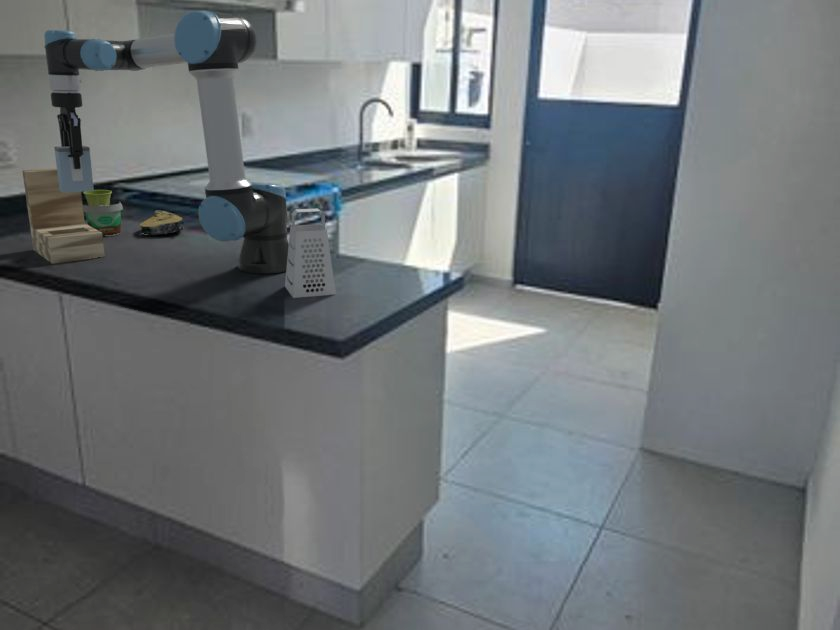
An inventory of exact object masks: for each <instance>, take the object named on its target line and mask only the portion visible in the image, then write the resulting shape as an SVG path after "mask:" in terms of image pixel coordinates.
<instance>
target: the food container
mask: <svg viewBox="0 0 840 630" xmlns="http://www.w3.org/2000/svg"><path fill="white" fill-rule="evenodd" d="M123 209H124V208H123V204H122V203H121V201H118V203H116V204H115V203H114V204H110V205H98V206H88V204H87V205H86V204H83V212H84V216H85V218H86V219H85V220H86V224H87V225H89V226H91V227H93V228H94V229H96V230H98V231H100V232H102V236H105V235H113V234H117V233H120V232H121V233H122V231H121V230H122V229H121V228H122V227H121V226H122V224H121V222H122V210H123Z"/></svg>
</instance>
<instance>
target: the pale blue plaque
mask: <svg viewBox="0 0 840 630" xmlns="http://www.w3.org/2000/svg"><path fill="white" fill-rule="evenodd" d="M82 148H83V155H81V163H82V173H83V181H72V174H71V165H70V157H68V155H70V148H69V146H54V155H55V164H56V168H57V174H58V183H59V191H61V192H63V193H70V192H81V193H83V192H85V191H94V190H95V189H94V179H93V170H92V160H91V149H90V146H86V145H82Z"/></svg>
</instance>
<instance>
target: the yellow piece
mask: <svg viewBox="0 0 840 630" xmlns="http://www.w3.org/2000/svg"><path fill="white" fill-rule="evenodd" d="M153 213H154V215H153V216H151V217H150V218H147V219H145V220H144V221H142V222H140V223H139V227H140V228H141V231H140V234H139V235H140V236H142V235H143V234H142V233H144V234H148V235H153V236H157V235H167V234H171V233H175V232H179V231H183V230H184V228H185V226H186V224H185V222H184V220H183V219H184V218H183V217H181V216H179V215H177V214H175V213H173V212H168V211H165V210H159V209H157V210H155V211H154V212H153Z"/></svg>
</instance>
